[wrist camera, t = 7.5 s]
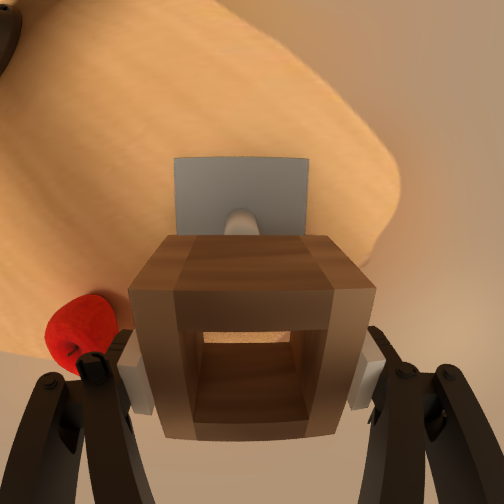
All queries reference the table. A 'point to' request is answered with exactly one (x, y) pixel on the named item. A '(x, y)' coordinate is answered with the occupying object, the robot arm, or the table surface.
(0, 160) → the table surface
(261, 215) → the stand
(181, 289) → the frame
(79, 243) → the table surface
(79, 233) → the table surface
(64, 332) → the apple
